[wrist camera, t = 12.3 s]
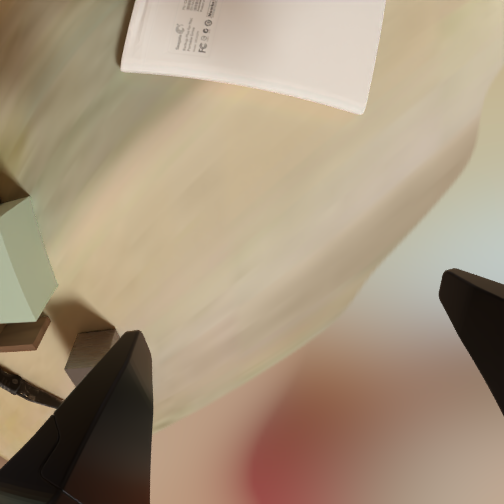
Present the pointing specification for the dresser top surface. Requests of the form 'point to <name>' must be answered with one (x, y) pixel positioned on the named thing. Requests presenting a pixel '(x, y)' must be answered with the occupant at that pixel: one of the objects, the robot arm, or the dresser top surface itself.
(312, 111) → the dresser top surface
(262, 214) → the dresser top surface
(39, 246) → the sage block
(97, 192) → the dresser top surface
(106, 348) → the dark gray rectangular block
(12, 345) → the frame
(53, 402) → the folding knife
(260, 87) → the external hard drive
